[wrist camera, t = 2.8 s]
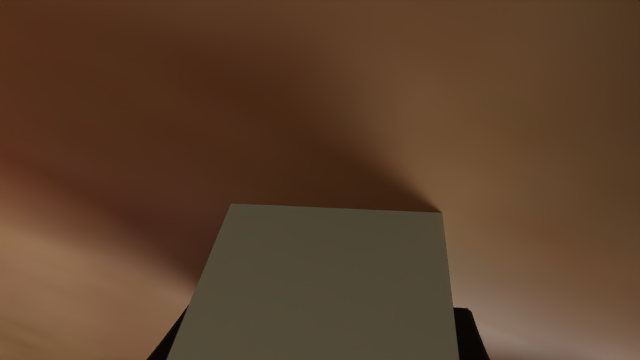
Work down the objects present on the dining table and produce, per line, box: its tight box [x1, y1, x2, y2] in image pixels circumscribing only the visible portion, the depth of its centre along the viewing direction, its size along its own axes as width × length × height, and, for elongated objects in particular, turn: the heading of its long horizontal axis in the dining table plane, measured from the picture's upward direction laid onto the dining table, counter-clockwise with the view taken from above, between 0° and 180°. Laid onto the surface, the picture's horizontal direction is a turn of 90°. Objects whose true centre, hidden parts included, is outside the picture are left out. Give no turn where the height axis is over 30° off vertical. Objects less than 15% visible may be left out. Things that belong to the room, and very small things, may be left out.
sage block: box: [167, 203, 459, 360], centre depth 11 cm, size 5×5×5 cm
